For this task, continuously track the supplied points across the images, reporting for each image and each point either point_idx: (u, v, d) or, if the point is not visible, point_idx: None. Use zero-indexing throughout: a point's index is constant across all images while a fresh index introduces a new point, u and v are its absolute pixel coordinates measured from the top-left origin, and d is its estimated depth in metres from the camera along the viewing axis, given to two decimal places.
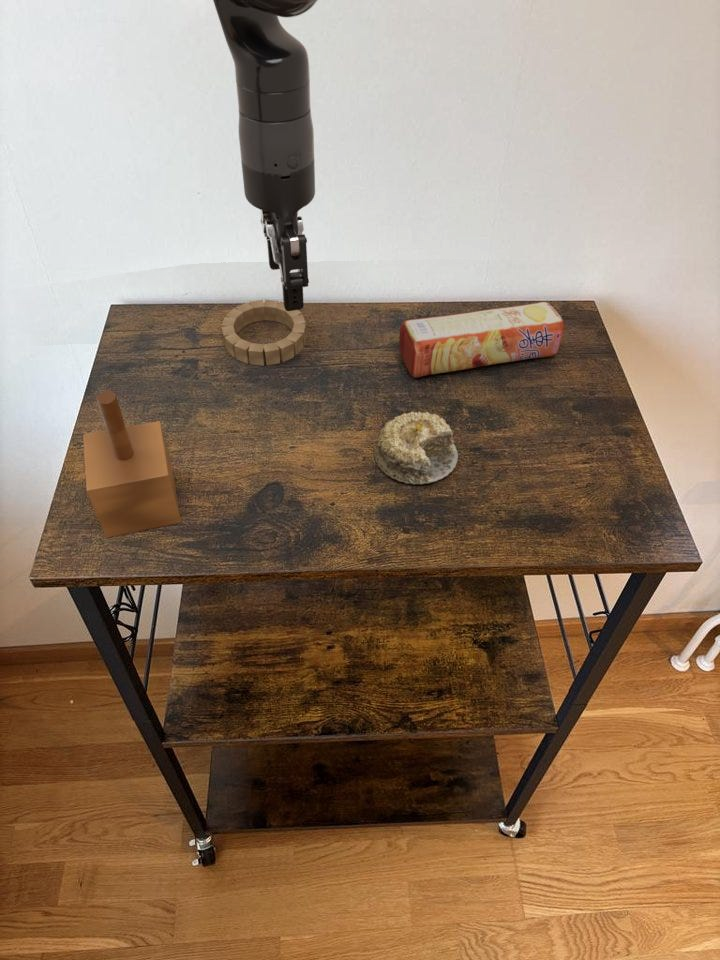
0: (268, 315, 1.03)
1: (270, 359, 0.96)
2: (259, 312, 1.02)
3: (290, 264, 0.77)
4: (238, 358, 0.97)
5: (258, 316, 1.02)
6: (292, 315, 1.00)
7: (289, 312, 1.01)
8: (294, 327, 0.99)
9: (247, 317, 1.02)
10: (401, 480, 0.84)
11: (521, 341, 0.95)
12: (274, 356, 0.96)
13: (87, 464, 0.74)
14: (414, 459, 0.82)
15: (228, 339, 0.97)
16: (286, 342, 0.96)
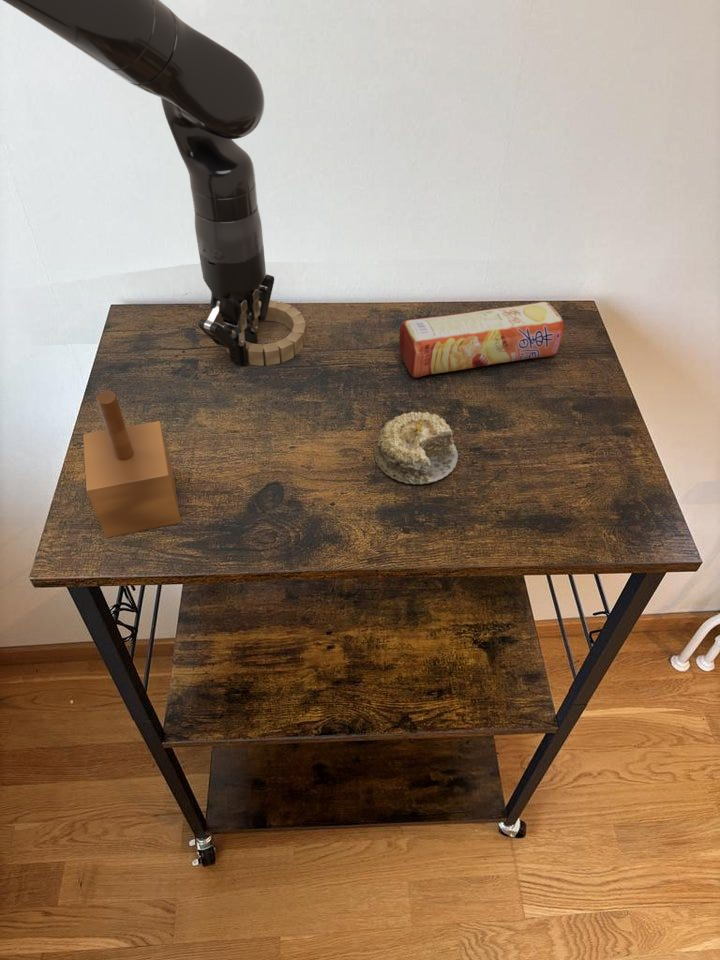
0: (268, 315, 1.03)
1: (270, 359, 0.96)
2: None
3: (211, 336, 0.90)
4: None
5: None
6: (292, 315, 1.00)
7: (289, 312, 1.01)
8: (294, 327, 0.99)
9: None
10: (401, 480, 0.84)
11: (521, 340, 0.95)
12: (274, 356, 0.96)
13: (87, 464, 0.74)
14: (413, 459, 0.82)
15: None
16: (286, 342, 0.96)
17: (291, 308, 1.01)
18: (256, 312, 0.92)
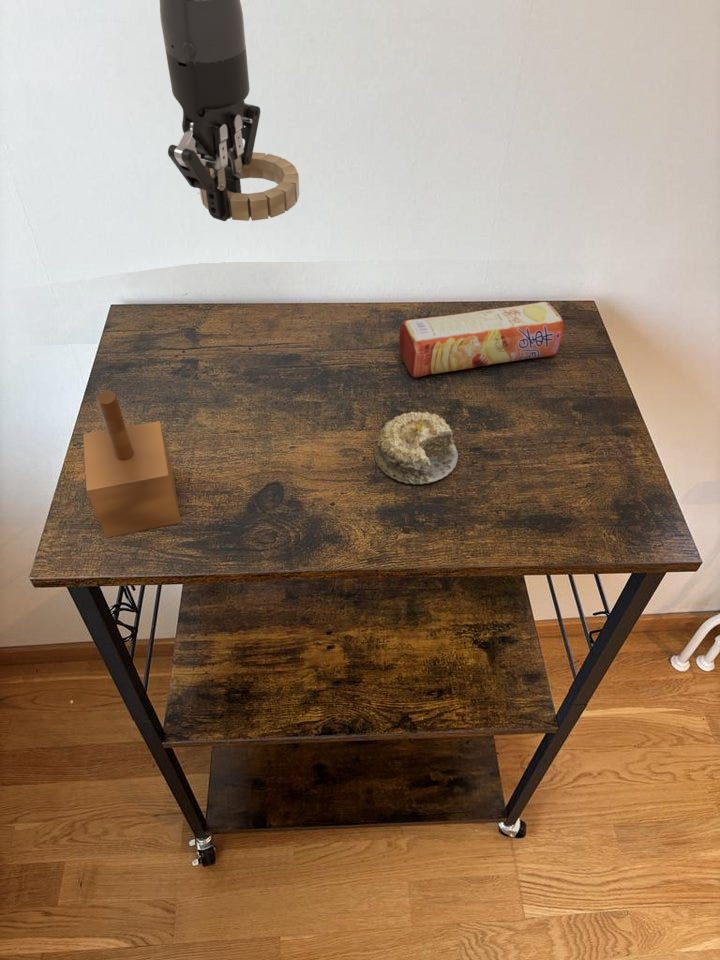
0: (254, 170, 0.87)
1: (256, 212, 0.81)
2: (243, 166, 0.86)
3: (184, 171, 0.74)
4: None
5: None
6: (282, 166, 0.84)
7: (278, 163, 0.85)
8: (285, 177, 0.83)
9: None
10: (401, 480, 0.84)
11: (521, 340, 0.95)
12: (261, 208, 0.80)
13: (87, 464, 0.74)
14: (413, 459, 0.82)
15: None
16: (275, 192, 0.81)
17: (281, 160, 0.85)
18: (238, 147, 0.77)
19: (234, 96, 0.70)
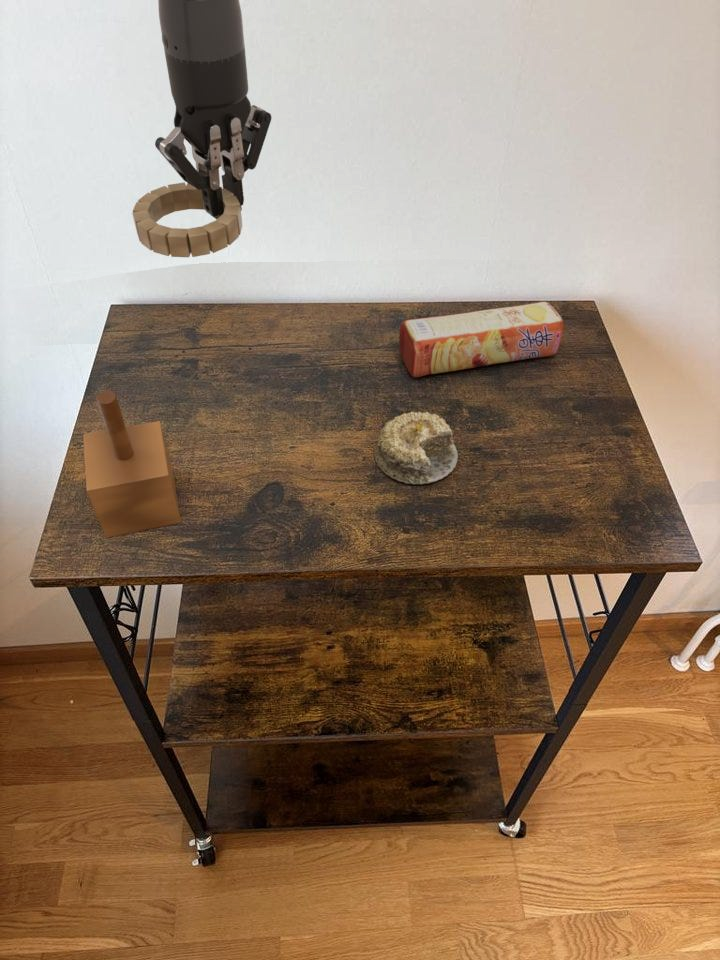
0: None
1: None
2: None
3: None
4: None
5: None
6: (145, 211, 0.77)
7: (146, 215, 0.77)
8: (153, 199, 0.79)
9: None
10: (401, 480, 0.84)
11: (521, 340, 0.95)
12: None
13: (87, 464, 0.74)
14: (413, 459, 0.82)
15: (237, 201, 0.79)
16: (174, 186, 0.81)
17: (139, 219, 0.76)
18: None
19: None
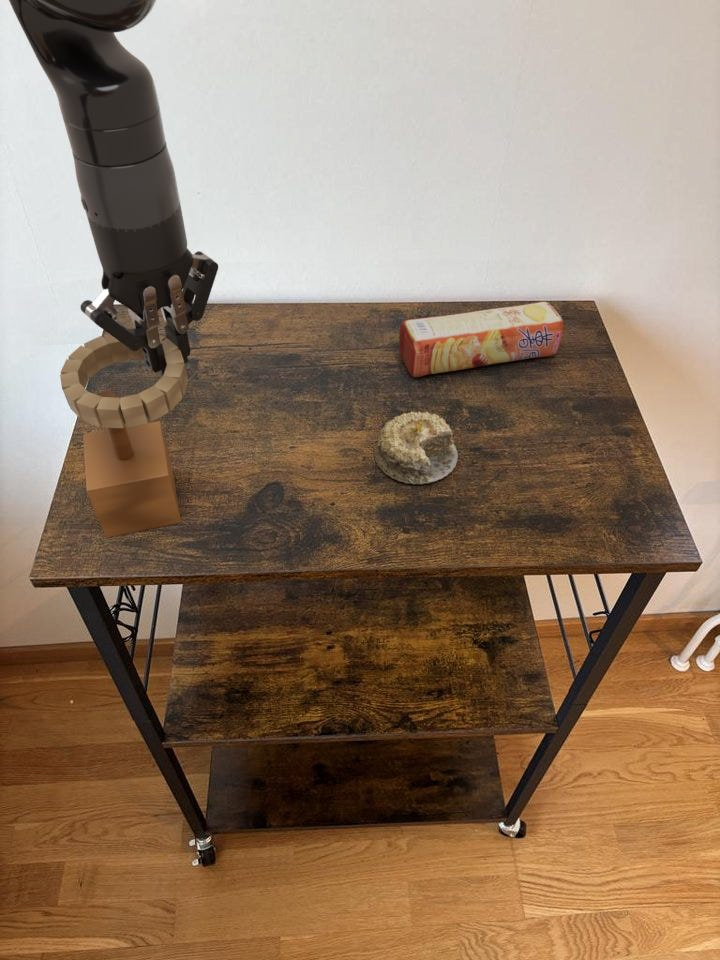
0: None
1: None
2: None
3: None
4: None
5: None
6: (74, 373, 0.68)
7: (75, 378, 0.67)
8: (86, 355, 0.70)
9: None
10: (401, 480, 0.84)
11: (521, 340, 0.95)
12: None
13: (87, 464, 0.74)
14: (413, 459, 0.82)
15: (180, 357, 0.70)
16: (111, 336, 0.72)
17: (67, 384, 0.67)
18: None
19: None
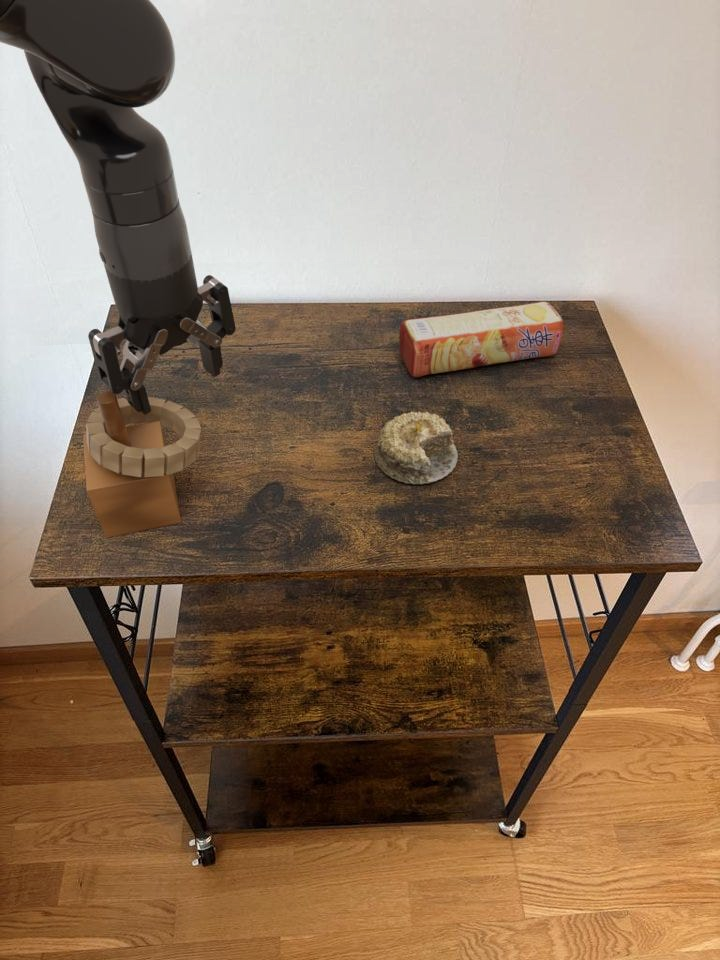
0: None
1: None
2: None
3: None
4: None
5: None
6: (100, 424, 0.74)
7: (101, 428, 0.73)
8: None
9: None
10: (401, 480, 0.84)
11: (521, 340, 0.95)
12: None
13: (87, 464, 0.74)
14: (413, 459, 0.82)
15: (198, 424, 0.77)
16: None
17: (93, 432, 0.73)
18: None
19: None
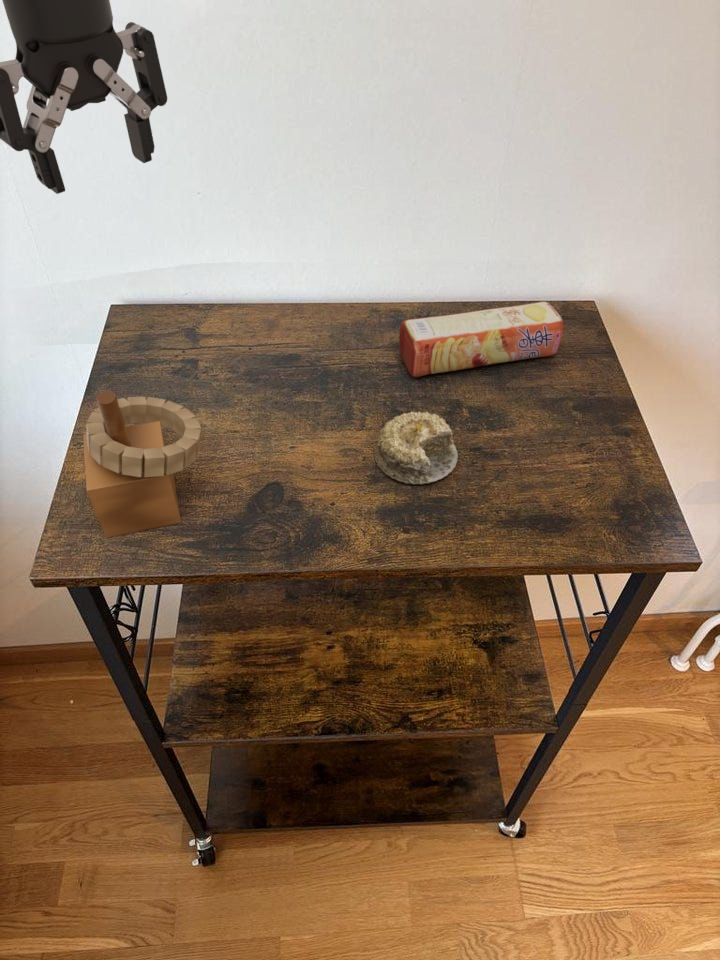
0: None
1: None
2: None
3: None
4: None
5: None
6: (100, 424, 0.74)
7: (101, 428, 0.73)
8: None
9: None
10: (401, 480, 0.84)
11: (521, 340, 0.95)
12: None
13: (87, 464, 0.74)
14: (413, 459, 0.82)
15: (198, 424, 0.77)
16: (134, 399, 0.78)
17: (93, 432, 0.73)
18: None
19: None
